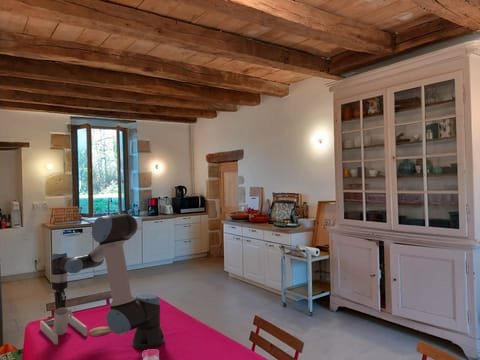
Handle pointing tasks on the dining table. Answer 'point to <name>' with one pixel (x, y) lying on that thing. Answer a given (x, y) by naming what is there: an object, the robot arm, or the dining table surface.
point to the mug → (61, 320)
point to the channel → (54, 336)
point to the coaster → (99, 331)
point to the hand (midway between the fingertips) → (60, 324)
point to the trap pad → (50, 322)
